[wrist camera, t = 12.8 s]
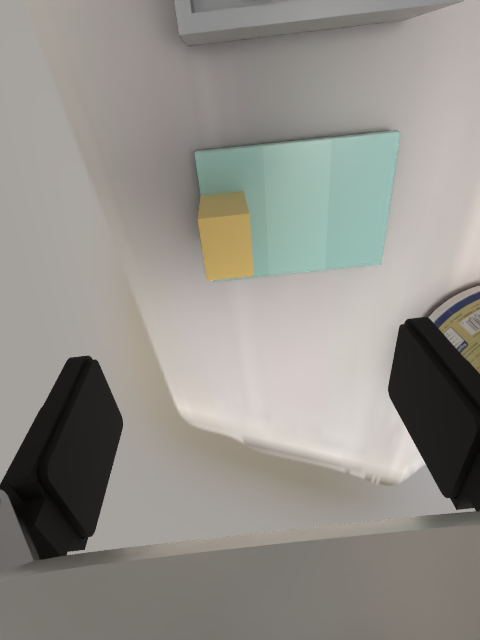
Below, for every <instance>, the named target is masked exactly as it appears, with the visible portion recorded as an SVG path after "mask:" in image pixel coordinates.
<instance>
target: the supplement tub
mask: <svg viewBox="0 0 480 640" xmlns="http://www.w3.org/2000/svg"><path fill="white" fill-rule="evenodd" d="M428 318H429V319H431V321H432V322H433V323H434V324H435V325H436V326H437V327H438V328H439V330H440V331H441V332H442V333H443V334H444V335H445V336H446V338H447V339H448V340H449V341H450V342H451V343H452V344H453V345H454V347H455V348H456V349H457V350H458V351H459V352H460V353H461V354H462V356H463V357H464V358H465V359H466V360H468V361H469V362H470V363H471V364H472V366H473V367H474V368H475V369H476V370H477V371H478V372H479V373H480V286H476V287H473V288H470V289H468V290H466V291H463V292H461V293H459V294H457V295H455V296H454V297H452V298H450V299H449V300H447V301H446V302H444V303H443V304H442V305H441V306H439V307H438V308H437V309H436V310H435V311H434V312H433V313H432V314H431V315H430V316H429V317H428Z"/></svg>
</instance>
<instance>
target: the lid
mask: <svg viewBox="0 0 480 640" xmlns="http://www.w3.org/2000/svg"><path fill="white" fill-rule="evenodd" d="M400 133H401V132H400V131H397V130H393V131H383V132H374V133H364V134H354V135H345V136H335V137H325V138H316V139H306V140H297V141H287V142H277V143H268V144H258V145H248V146H239V147H229V148H220V149H210V150H200V151H195V153H194V154H195V161H196V168H197V175H198V181H199V188H200V195H201V196H200V203H199V211H198V218H197V220H198V226H199V233H200V239H201V246H202V252H203V258H204V265H205V271H206V278H207V281H210V280H213V282H215V281H224V280H234V279H244V278H253V277H263V276H273V275H283V274H292V273H302V272H312V271H321V270H331V269H341V268H351V267H360V266H370V265H380V264H381V262H382V255H383V248H384V241H385V235H386V228H387V221H388V214H389V207H390V201H391V194H392V187H393V180H394V174H395V167H396V160H397V153H398V147H399V140H400Z"/></svg>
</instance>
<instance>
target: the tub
mask: <svg viewBox="0 0 480 640" xmlns="http://www.w3.org/2000/svg"><path fill="white" fill-rule="evenodd" d="M462 1H463V0H174V5H175V11H176V18H177V25H178V31H179V36H180V37H181V38H182V40H183V41H184V42H185V43H186V45H187V46H192V45H200V44H209V43H217V42H225V41H234V40H242V39H250V38H259V37H267V36H275V35H284V34H292V33H300V32H309V31H317V30H325V29H334V28H342V27H350V26H359V25H367V24H375V23H384V22H392V21H400V20H406V19H410V18H413V17H416V16H419V15H422V14H425V13H428V12H431V11H434V10H437V9H440V8H443V7H447V6H450V5H453V4H456V3H459V2H462Z"/></svg>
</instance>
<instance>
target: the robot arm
mask: <svg viewBox="0 0 480 640" xmlns="http://www.w3.org/2000/svg"><path fill="white" fill-rule="evenodd" d="M388 392H389V396H390V399H391V401H392V402H393V404H394V406H395V408H396V410H397V412H398V414H399V415H400V417H401V419H402V421H403V423H404V425H405V426H406V428H407V430H408V432H409V434H410V436H411V438H412V439H413V441H414V443H415V445H416V447H417V449H418V450H419V452H420V454H421V456H422V458H423V460H424V462H425V463H426V465H427V467H428V469H429V471H430V472H431V474H432V476H433V478H434V480H435V482H436V484H437V486H438V487H439V489H440V491H441V493H442V494H443V495H444V497H446V498H450V499H451V500H452V502H453V504H454V506H455V508H456V510H458V509H468V508H475V510H476V511H475V512H463V513H451V514H440V515H427V516H416V517H406V518H397V519H388V520H377V521H367V522H358V523H348V524H338V525H329V526H319V527H310V528H301V529H291V530H283V531H282V530H281V531H272V532H263V533H254V534H244V535H235V536H226V537H217V538H208V539H199V540H191V541H181V542H172V543H163V544H155V545H146V546H138V547H128V548H120V549H112V550H104V551H97V552H89V553H82V554H74V555H67V552H68V551H78V550H85V547H86V543H87V540H88V537H91V536H92V535H93V534H94V532H95V529H96V525H97V522H98V518H99V514H100V510H101V507H102V503H103V499H104V495H105V492H106V488H107V484H108V481H109V477H110V473H111V470H112V466H113V462H114V458H115V455H116V451H117V447H118V443H119V440H120V436H121V432H122V428H123V419H122V416H121V414H120V411H119V409H118V407H117V404H116V402H115V400H114V397H113V395H112V393H111V390H110V388H109V386H108V383H107V381H106V379H105V376H104V374H103V372H102V369H101V367H100V365H99V363H98V361H97V360H92V358H91V357H90V356H81V357H73V358H69V359H68V360H67V362H66V363H65V365H64V367H63V369H62V371H61V373H60V375H59V377H58V379H57V381H56V382H55V385H54V386H53V388H52V390H51V392H50V394H49V396H48V398H47V400H46V402H45V403H44V405H43V407H42V408H41V409H40V411H39V412H38V414H37V416H36V418H35V420H34V422H33V424H32V426H31V428H30V429H29V431H28V433H27V435H26V437H25V439H24V441H23V443H22V445H21V446H20V448H19V450H18V452H17V454H16V456H15V458H14V460H13V461H12V463H11V465H10V467H9V469H8V471H7V473H6V475H5V476H4V479H3V480H2V482H1V484H0V640H480V373H479V372H478V371H477V370H476V369H475V368H474V367H473V366H472V364H471V363H470V362H469V361H468V360H466V359H465V358H464V357H463V356H462V354H461V353H460V352H459V351H458V350H457V349H456V348H455V347H454V345H453V344H452V343H451V342H450V341H449V340H448V339H447V338H446V336H445V335H444V334H443V333H442V332H441V331H440V330H439V328H438V327H437V326H436V325H435V324H434V323H433V322H432V321H431V319H429V318H428V317H421V318H413V319H407V320H406V321H405V324H402V325H400V327H399V332H398V337H397V342H396V348H395V353H394V359H393V364H392V369H391V375H390V380H389V386H388Z"/></svg>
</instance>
